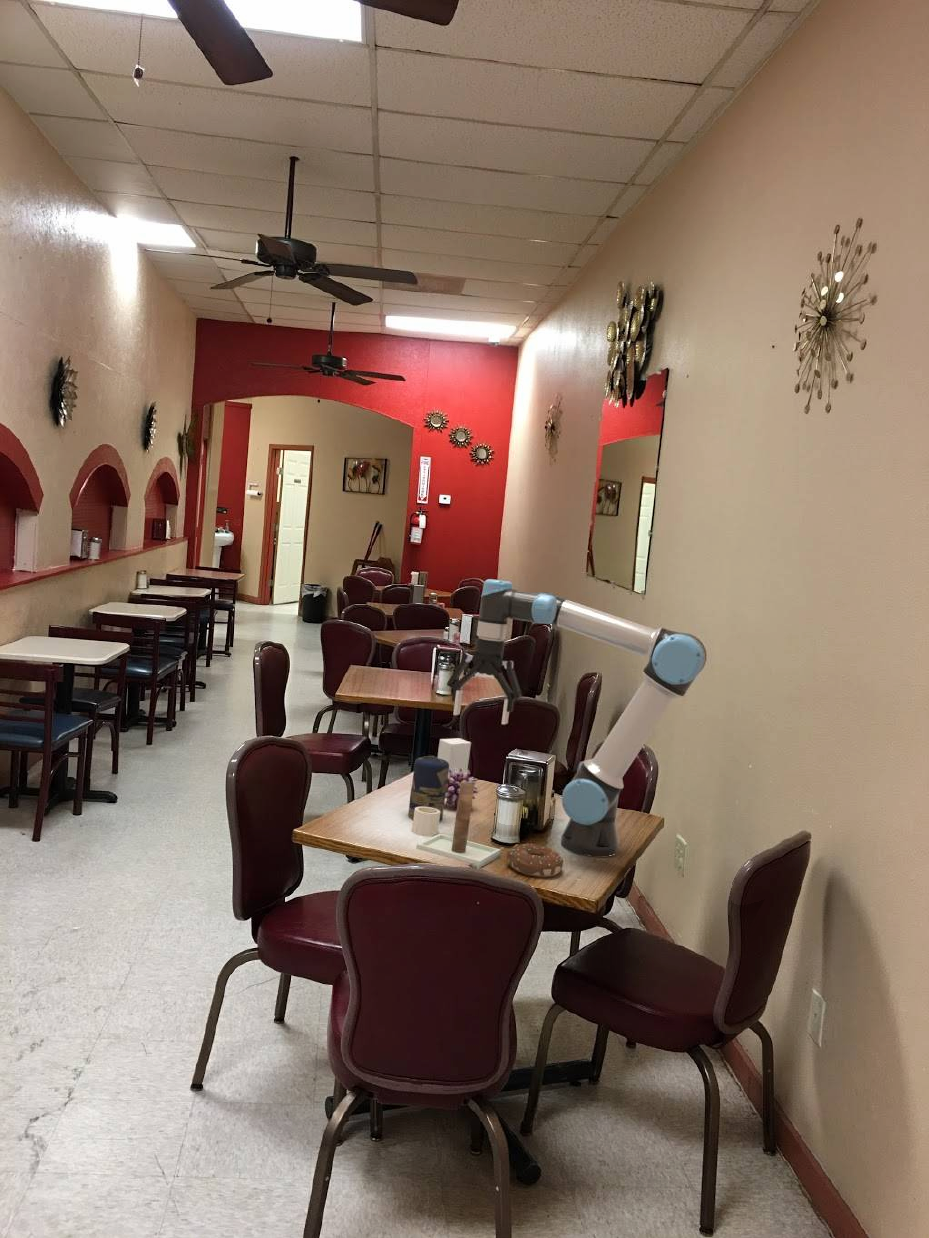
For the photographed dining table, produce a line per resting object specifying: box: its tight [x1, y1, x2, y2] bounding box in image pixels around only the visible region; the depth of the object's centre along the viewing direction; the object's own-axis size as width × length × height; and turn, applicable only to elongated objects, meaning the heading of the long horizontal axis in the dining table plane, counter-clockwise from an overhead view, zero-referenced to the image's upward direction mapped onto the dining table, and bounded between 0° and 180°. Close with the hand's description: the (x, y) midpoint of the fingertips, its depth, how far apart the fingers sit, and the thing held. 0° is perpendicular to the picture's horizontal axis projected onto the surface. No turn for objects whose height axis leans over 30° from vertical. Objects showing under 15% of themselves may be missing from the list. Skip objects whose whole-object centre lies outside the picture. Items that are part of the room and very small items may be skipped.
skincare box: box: [437, 737, 472, 775], centre depth 316 cm, size 8×7×16 cm
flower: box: [445, 768, 479, 809], centre depth 294 cm, size 12×12×12 cm
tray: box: [415, 833, 502, 869], centre depth 250 cm, size 17×13×2 cm
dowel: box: [452, 782, 476, 853], centre depth 250 cm, size 4×4×17 cm
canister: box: [407, 755, 449, 823], centre depth 276 cm, size 10×10×18 cm
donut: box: [506, 842, 564, 878], centre depth 246 cm, size 14×14×5 cm
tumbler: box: [411, 807, 440, 837], centre depth 263 cm, size 7×7×6 cm
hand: (480, 719), depth 265 cm, fingers open, 13 cm apart
